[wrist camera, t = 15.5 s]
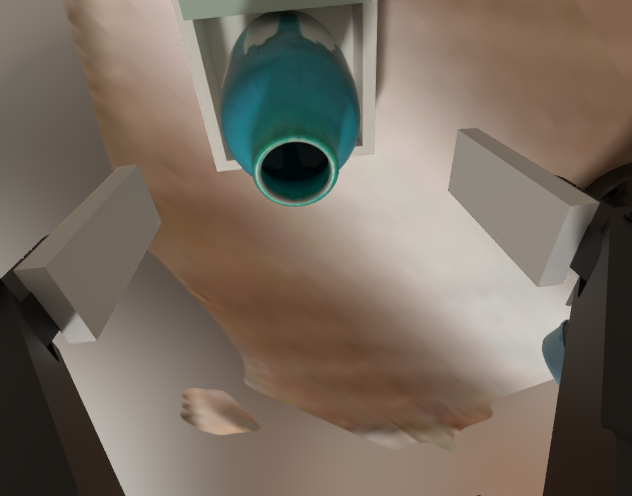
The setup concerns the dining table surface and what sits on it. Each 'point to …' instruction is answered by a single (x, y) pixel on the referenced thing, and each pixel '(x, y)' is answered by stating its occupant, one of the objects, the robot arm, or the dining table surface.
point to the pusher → (249, 6)
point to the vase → (289, 107)
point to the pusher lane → (222, 32)
